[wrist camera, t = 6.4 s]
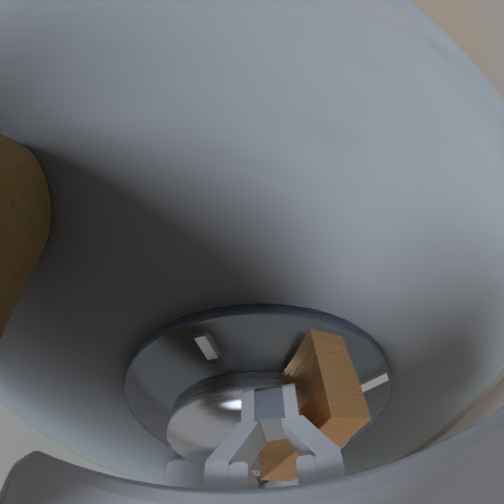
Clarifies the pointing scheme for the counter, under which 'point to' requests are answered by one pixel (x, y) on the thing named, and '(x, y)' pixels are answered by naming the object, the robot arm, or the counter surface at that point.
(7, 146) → the plant pot
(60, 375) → the counter surface
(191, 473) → the beverage can
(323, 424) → the dial
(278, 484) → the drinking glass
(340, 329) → the dial plate
